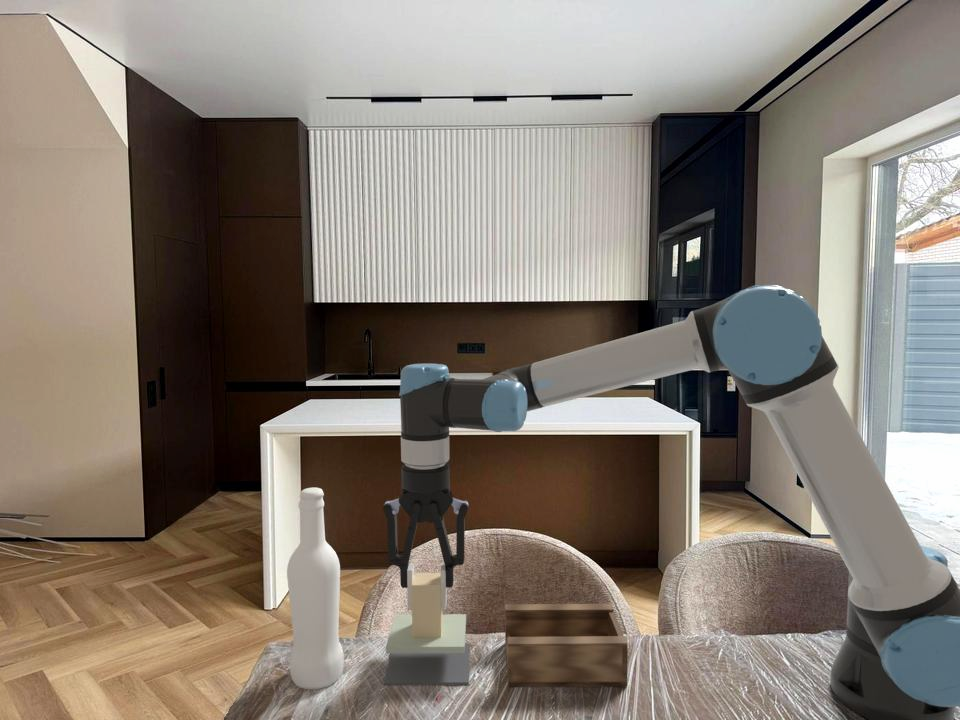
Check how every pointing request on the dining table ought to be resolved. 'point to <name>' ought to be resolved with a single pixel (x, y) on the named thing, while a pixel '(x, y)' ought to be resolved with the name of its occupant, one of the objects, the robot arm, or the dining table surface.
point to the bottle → (314, 600)
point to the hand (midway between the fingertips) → (427, 605)
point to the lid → (427, 622)
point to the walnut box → (564, 646)
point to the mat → (428, 668)
